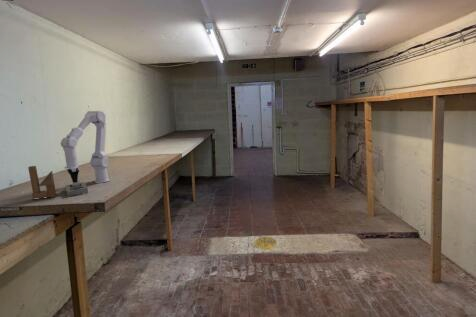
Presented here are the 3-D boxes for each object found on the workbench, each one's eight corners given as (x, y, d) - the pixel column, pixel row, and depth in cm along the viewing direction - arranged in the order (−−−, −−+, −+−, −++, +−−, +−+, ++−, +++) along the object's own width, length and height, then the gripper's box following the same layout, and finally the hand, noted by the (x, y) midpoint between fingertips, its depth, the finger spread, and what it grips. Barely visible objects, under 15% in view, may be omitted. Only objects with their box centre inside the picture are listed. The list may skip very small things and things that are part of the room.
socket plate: (66, 190, 196) (65, 185, 195) (84, 186, 200) (83, 182, 200) (68, 196, 182) (67, 191, 181) (88, 193, 187) (87, 188, 186)
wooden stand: (55, 197, 183) (49, 165, 179) (32, 200, 180) (26, 167, 176) (56, 195, 186) (51, 163, 183) (34, 198, 183) (28, 166, 180)
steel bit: (71, 185, 194) (70, 173, 193) (79, 183, 196) (77, 172, 195) (72, 186, 191) (70, 174, 189) (80, 185, 193) (78, 173, 191)
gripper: (62, 157, 194) (66, 180, 197) (64, 161, 182) (68, 185, 185) (75, 155, 198) (79, 178, 200) (78, 159, 185) (82, 183, 188)
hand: (74, 181), depth 193 cm, fingers closed on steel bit, 4 cm apart
